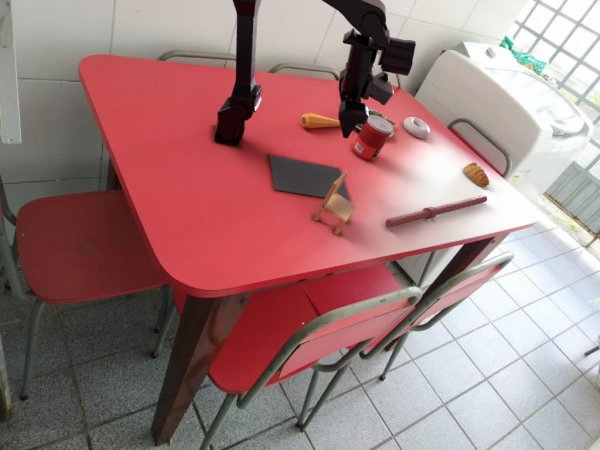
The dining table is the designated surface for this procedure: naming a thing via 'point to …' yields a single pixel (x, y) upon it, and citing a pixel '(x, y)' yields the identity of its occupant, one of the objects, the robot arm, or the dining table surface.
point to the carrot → (318, 121)
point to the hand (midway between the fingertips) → (345, 126)
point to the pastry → (476, 174)
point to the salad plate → (373, 112)
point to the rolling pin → (433, 211)
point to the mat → (304, 177)
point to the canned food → (372, 138)
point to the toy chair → (337, 204)
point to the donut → (416, 127)
